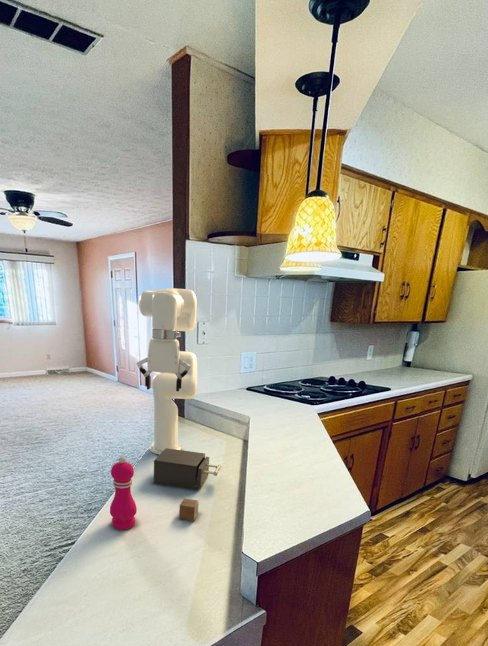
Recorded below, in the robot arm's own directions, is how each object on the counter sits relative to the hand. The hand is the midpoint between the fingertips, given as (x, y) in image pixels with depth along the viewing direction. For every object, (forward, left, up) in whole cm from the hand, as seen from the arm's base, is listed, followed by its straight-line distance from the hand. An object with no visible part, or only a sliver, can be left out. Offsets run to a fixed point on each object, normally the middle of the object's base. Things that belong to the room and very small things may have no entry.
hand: (163, 389), depth 134 cm
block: (+25, +17, -31) cm, 43 cm away
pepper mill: (+35, +1, -31) cm, 47 cm away
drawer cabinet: (+1, +7, -31) cm, 32 cm away
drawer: (+1, +12, -30) cm, 32 cm away
